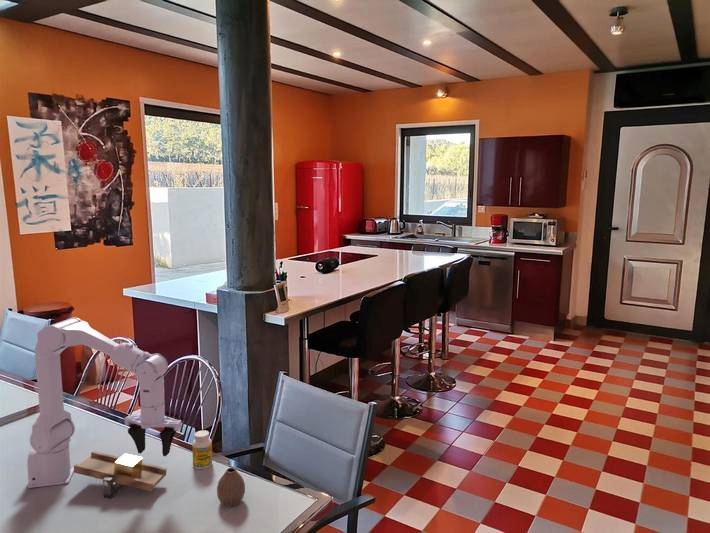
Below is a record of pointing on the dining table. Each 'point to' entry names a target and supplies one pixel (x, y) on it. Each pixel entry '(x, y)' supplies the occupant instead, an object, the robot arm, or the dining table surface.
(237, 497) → the vase
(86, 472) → the beam
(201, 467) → the supplement bottle
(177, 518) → the dining table surface
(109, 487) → the stand
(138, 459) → the block
